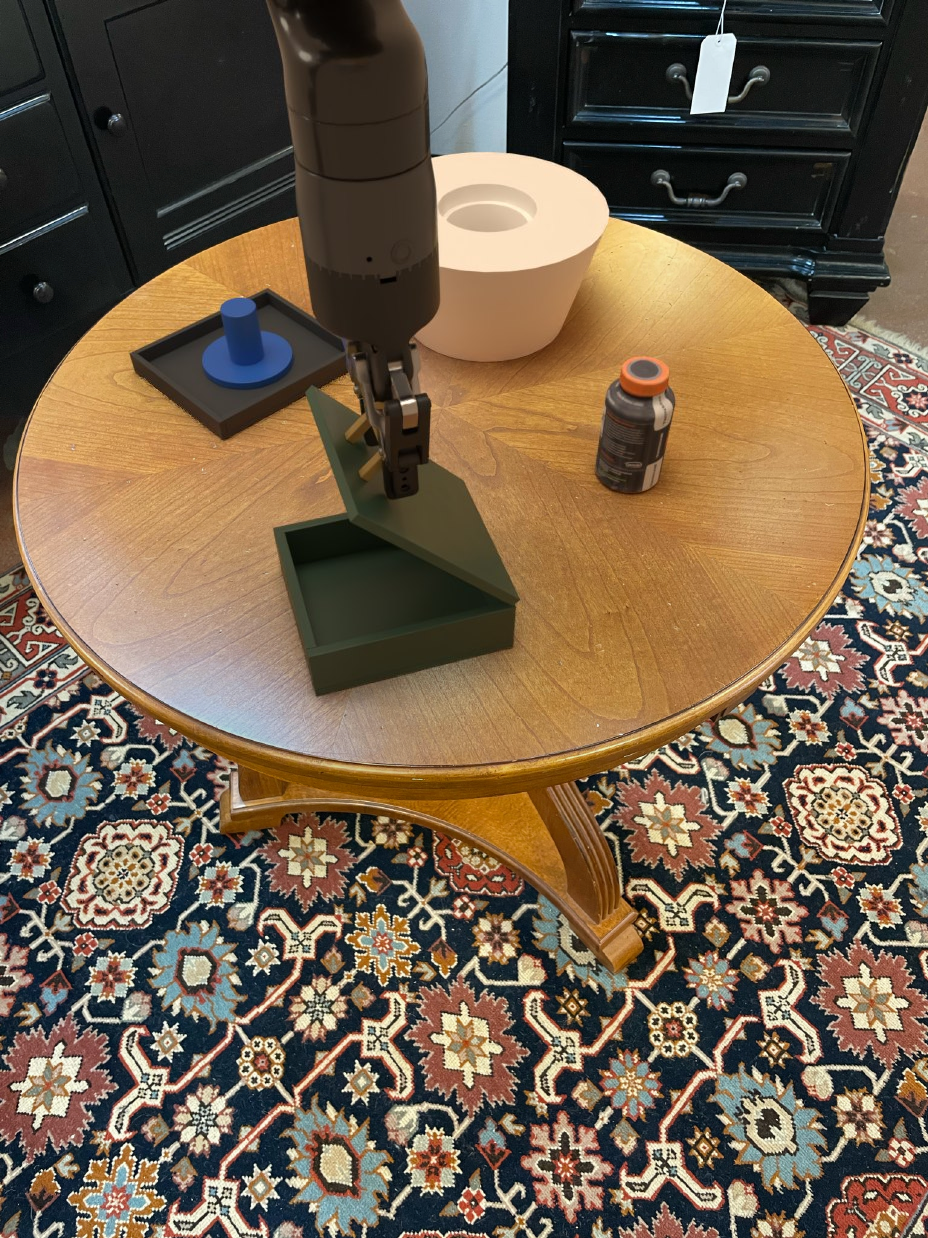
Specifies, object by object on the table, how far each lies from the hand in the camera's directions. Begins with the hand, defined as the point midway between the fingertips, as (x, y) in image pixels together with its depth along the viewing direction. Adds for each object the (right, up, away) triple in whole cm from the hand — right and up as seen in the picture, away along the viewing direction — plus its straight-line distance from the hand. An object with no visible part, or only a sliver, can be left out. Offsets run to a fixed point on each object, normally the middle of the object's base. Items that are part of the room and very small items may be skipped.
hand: (391, 466), depth 65 cm
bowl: (+7, +22, +38) cm, 45 cm away
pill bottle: (+20, +3, +22) cm, 30 cm away
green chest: (-1, -9, +11) cm, 15 cm away
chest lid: (+1, -2, +3) cm, 4 cm away
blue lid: (-17, +15, +31) cm, 39 cm away
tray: (-17, +15, +31) cm, 39 cm away
